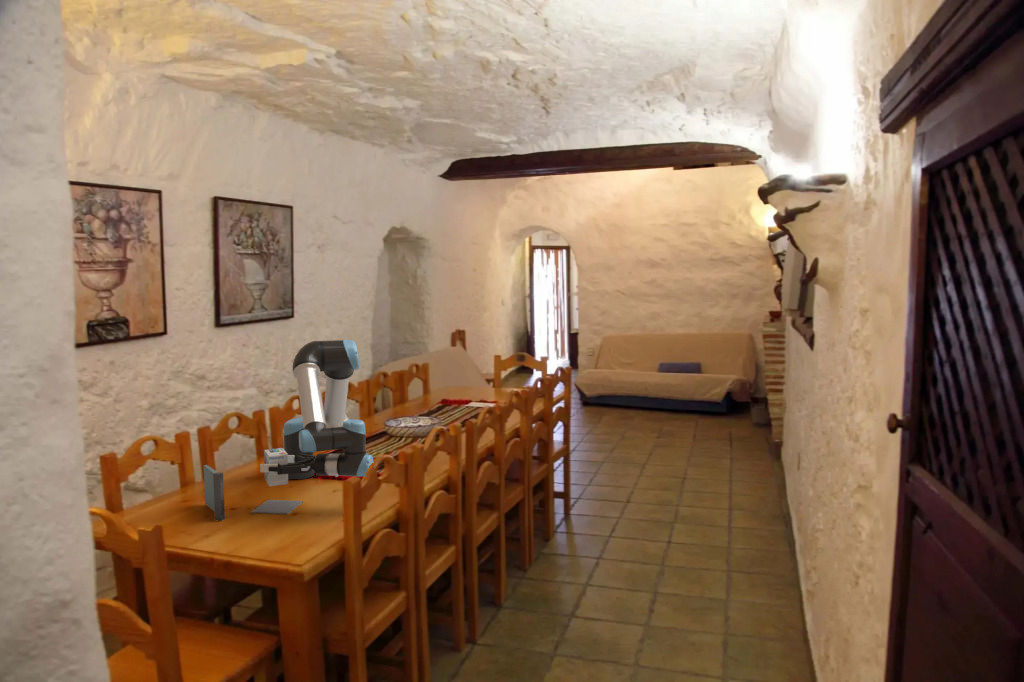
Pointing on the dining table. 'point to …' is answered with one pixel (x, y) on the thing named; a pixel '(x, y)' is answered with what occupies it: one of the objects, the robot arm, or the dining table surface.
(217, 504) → the gate post
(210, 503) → the gate
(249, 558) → the dining table surface
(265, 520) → the dining table surface
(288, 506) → the rubber mat
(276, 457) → the light bulb box
